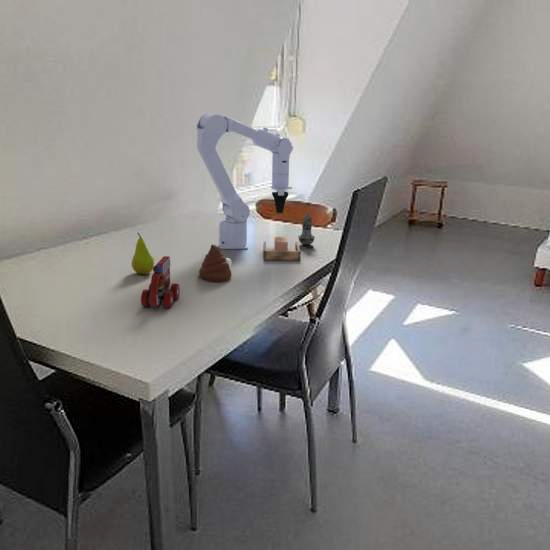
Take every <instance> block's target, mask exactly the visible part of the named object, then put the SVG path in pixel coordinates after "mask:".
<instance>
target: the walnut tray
mask: <svg viewBox="0 0 550 550" xmlns="http://www.w3.org/2000/svg"><path fill="white" fill-rule="evenodd" d="M266 242H267V241H266V240H265V241H263V261H288V262H291V261H293V262H295V261H297V262H298V261H299V262H301V255H302V254H301V248H299V243H298V242H299V241H295V245H294V246H295V247H294V248H288V251H275V249H274V248H267V243H266Z"/></svg>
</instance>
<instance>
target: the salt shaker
mask: <svg viewBox="0 0 550 550" xmlns="http://www.w3.org/2000/svg"><path fill="white" fill-rule="evenodd" d="M301 227H302V230H301V231H302V232H301V234H300V235H298V236H297V238H298V240H299V241H298V242H299V243H300V245H299V244H298V245H299V248H300V249H303V250H311V249H314V245H312V244H313V243H314V241H315V238H316V237H315V235H313V234H312V227H313V225H312V216H311V215H310V214H309V213H308V212H306V214H305V215H303V217H302V224H301Z"/></svg>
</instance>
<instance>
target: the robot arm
mask: <svg viewBox="0 0 550 550" xmlns="http://www.w3.org/2000/svg"><path fill="white" fill-rule="evenodd" d="M195 127H196V131H197V133H196V134H197V140H196V141H197V142H196V150H197V151H198V153H199V155H200V157H201V159H202V161H203V162H204V165H205V168H206V169H207V171H208V173H209V175H210V177H211V179H212V181H213V183H214V185H215V187H216V189H217V191H218V193H219V195H220V202H221V205H222V212H223V214H224V215H225V220H219V229H218V230H219V232H218V233H219V234H218V235H219V236H218V243H219V247H218V248H219V249H222V250H223V249H225V250H227V249H229V250H231V249H232V250H233V249H237V250H239V249H241V250H248V248H249V242H248V237H247V236H248V232H247V231H248V229H247V228H248V227H247V226H248V219H249V217H250V213H251V210H250V209H251V208H250V207H249V205H248V204H246V203H245V202H244V201H243V199H242V197H241V196H240V195H239V194H238V192H237V191H236V189H235V186H234V185H233V182H232V180H231V179H230V176H229V174H228V172H227V170H226V168H225V166H224V164H223V162H222V160H221V158H220V156H219V153H218V152H217V149H216V147H217V145H218V143H219V140H220V139H221V138H222V137H223V135H224V134H225V133H230V132H233V133H235V134H238V135H240V136H243V137H245V138H247V139H251V141H252V143H253V145H255V146H257V147H260V148H262V149H264V150H266V151H269V152H271V154H272V160H271V161H272V163H271V165H272V166H271V167H272V169H271V190H274V191H272V192H271V195H272V197H273V200H274V205H275V211H276V213H277V214H283V212H284V209H285V203H286V200H287V199H288V197H289V191H288V190H291V189H293V186H291V185H289V183H290V182H289V180H290V179H289V178H290V177H289V176H290V174H289V173H290V155H291V153H292V152H293V149H294V146H293V144H292V141H291V140H290V139H289V138H287V137H282V136H280V133H274V132H271V131H268V130H269V128H267V127H265V126H264V127H259V128H257V129H254V127H251V126H248V125H247V124H245V123H243V122H240V121H239V120H236V119H234V118H232V117H229V116H223V115H221V114H218V113H215V114H211V113H205V114H202V115H201V116H200V118H199V120H198V121H197V124H196V126H195Z"/></svg>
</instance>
